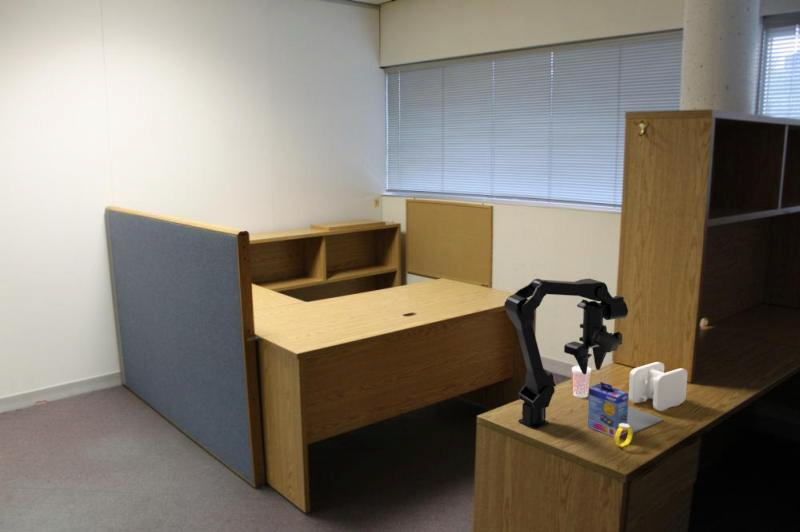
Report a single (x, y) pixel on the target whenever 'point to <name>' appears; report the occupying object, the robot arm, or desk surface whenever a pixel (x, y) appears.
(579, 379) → the beverage cup
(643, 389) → the cable organizer
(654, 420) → the mat
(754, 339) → the desk surface
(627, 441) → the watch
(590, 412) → the ink cartridge box
